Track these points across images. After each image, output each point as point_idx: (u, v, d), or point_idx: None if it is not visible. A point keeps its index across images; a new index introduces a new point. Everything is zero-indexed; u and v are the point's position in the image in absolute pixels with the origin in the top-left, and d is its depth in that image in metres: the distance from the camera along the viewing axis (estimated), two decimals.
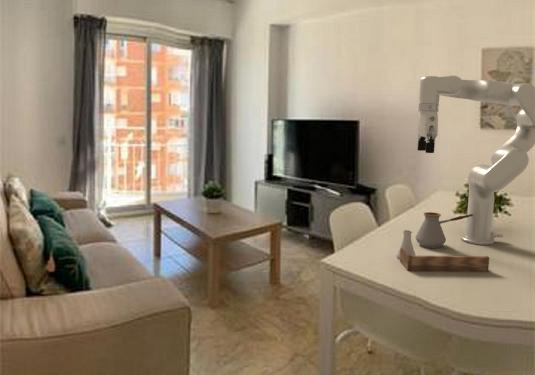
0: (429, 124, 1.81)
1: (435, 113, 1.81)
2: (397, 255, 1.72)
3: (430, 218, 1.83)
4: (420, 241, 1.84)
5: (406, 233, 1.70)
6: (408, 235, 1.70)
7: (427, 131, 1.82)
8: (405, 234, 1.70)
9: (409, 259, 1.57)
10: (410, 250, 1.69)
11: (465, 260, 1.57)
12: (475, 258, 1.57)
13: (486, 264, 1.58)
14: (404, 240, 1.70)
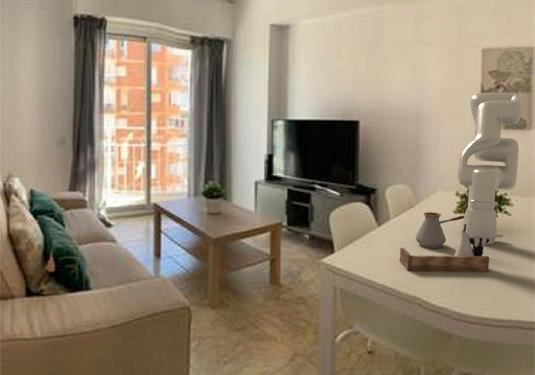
0: None
1: None
2: None
3: (430, 218, 1.83)
4: (420, 241, 1.84)
5: (465, 234, 1.61)
6: None
7: None
8: (464, 235, 1.61)
9: (409, 259, 1.57)
10: (470, 252, 1.61)
11: (465, 260, 1.57)
12: (475, 258, 1.57)
13: (486, 264, 1.58)
14: (463, 241, 1.62)
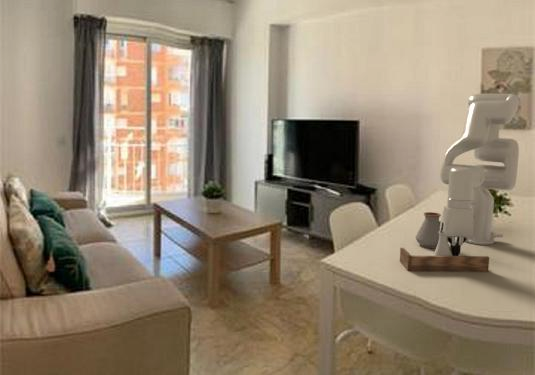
0: None
1: None
2: None
3: (430, 218, 1.83)
4: (420, 241, 1.84)
5: (443, 234, 1.60)
6: (445, 236, 1.60)
7: None
8: (441, 235, 1.60)
9: (409, 259, 1.57)
10: (448, 252, 1.60)
11: (465, 260, 1.57)
12: (475, 258, 1.57)
13: (486, 264, 1.58)
14: (441, 242, 1.61)
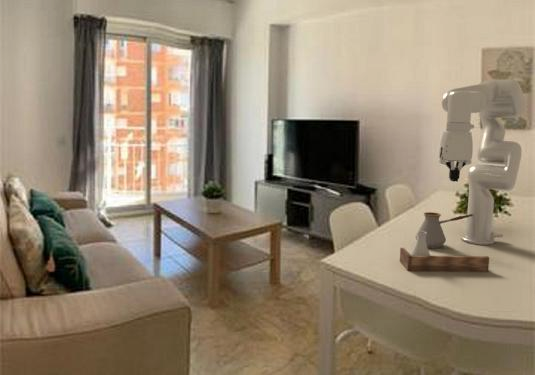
0: None
1: None
2: None
3: (430, 218, 1.83)
4: None
5: (423, 235, 1.60)
6: (425, 236, 1.60)
7: None
8: (422, 236, 1.60)
9: (409, 259, 1.57)
10: (428, 252, 1.61)
11: (465, 260, 1.57)
12: (475, 258, 1.57)
13: (486, 264, 1.58)
14: (421, 242, 1.60)
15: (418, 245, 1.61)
